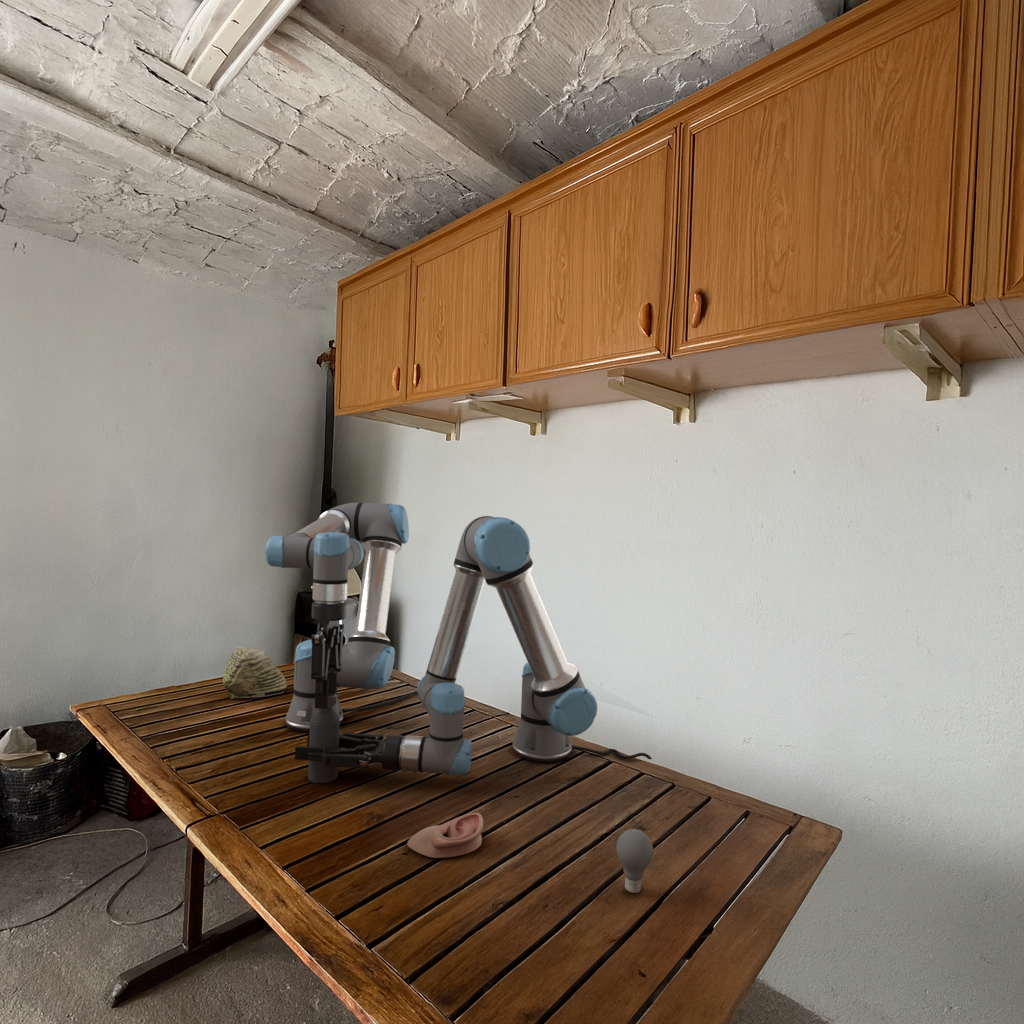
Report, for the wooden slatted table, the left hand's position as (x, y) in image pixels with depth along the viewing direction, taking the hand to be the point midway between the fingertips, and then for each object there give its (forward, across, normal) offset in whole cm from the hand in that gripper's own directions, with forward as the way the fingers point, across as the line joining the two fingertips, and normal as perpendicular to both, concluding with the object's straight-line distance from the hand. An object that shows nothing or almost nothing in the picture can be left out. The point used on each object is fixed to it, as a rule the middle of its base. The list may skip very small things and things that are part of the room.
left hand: (325, 704), depth 143 cm
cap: (-2, 0, 0) cm, 2 cm away
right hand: (+10, 0, -5) cm, 11 cm away
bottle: (+17, 0, 0) cm, 17 cm away
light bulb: (+17, +31, +66) cm, 75 cm away
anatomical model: (+17, +22, +33) cm, 43 cm away
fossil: (+17, -51, -43) cm, 69 cm away
